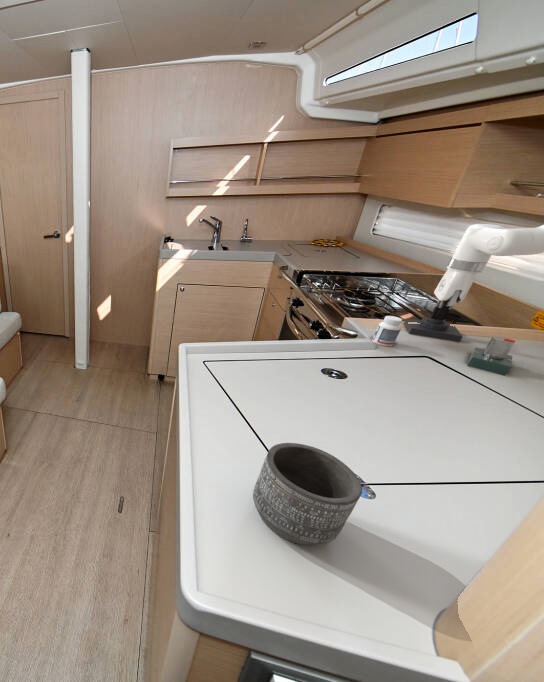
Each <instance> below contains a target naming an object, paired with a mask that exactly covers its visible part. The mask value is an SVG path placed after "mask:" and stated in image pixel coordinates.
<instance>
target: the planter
mask: <svg viewBox="0 0 544 682" xmlns="http://www.w3.org/2000/svg"><path fill="white" fill-rule="evenodd" d="M362 493H363V486H362V483H361V480H360V479H359V478H358V476H357V474H356V473H355V472H354V471H353V470H352V469H351V468H350V467H349V466H348V465H346V463H344V462H343V461H342V460H340V459H338V458H337V457H335V456H334V455H332V454H330V453H328V452H327V451H324V450H322V449H320V448H317V447H314V446H311V445H307V444H303V443H297V442H282V443H278V444H277V443H276V444H274V445H273V446H272V447H270V448H269V450H268V452H267V454H266V457H265V459H264V461H263V463H262V466H261V469H260V471H259V474H258V477H257V480H256V482H255V485H254V487H253V491H252V499H253V503H254V506H255V508H256V511H257V513H258V515H259V517H260V519H261V520H262V522H263V523H264V524H265V525H266V527H267V528H268V529H270V531H271V532H273V533H274V534H275V535H277V536H278V537H280V538H282V539H284V540H285V541H287V542H289V543H293V544H296V545H300V546H317V545H323V544H328V543H331V542H333V541H334V540H336V539H337V538H338V536H339V534H340V533H341V531H342V530H343V528H344V526H345V524H346V522H347V521H348V519H349V517H350V515H352V512H353V510H354V509H355V507H356V505H357V503H358V501H359V499H360V497H362Z"/></svg>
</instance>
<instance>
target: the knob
mask: <svg viewBox="0 0 544 682" xmlns="http://www.w3.org/2000/svg"><path fill="white" fill-rule="evenodd" d="M516 342H517V341H516V339H512V338H509V337H505V336H499V335H494V336H492V337H491V339H490V341H489V342H488V344H487V346H486V347H485V348H484V349H485V350H484V352H483V353H482V354H483V355H484V356H486V357H489V358H492V359H498V360H502V359H504V358H505V356H506V355H508V353H509V352H510V351H511V349H512V348H513V346H514V345H515V343H516Z"/></svg>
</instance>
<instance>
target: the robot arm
mask: <svg viewBox="0 0 544 682" xmlns="http://www.w3.org/2000/svg"><path fill="white" fill-rule="evenodd" d="M543 253H544V224H542V225H540V226H536V227H518V228H517V227H516V228H505V226H502V225H497V224H493V223H492V224H491V223H475V224H471V225H469V226H468V227H467V228H466V230H465V232H464V233H463V236H462V238H461V239H460V241H459V243H458V245H457V246H456V249H455V251H454V253H453V255H452V256H451V258H450V260H449V262H448V263H447V266H446V269H447V270H446V271H445V273H444V274H443V276H442V277H441V279H440V281H439V283H437V286H436V288H435V289H434V291H433V294H434V295H435V297H436V298H437V299H438V300H437V302H436V305H435V306H434V308H433V310H432V311H431V313H430V316H429V318H430V317H431V318H432V319H438V320H445V321H446V318H447V316H448V315H449V313H450V312H451V309H452V308H454V307H455V304H460V303H462V302H463V301H464V300H465V298H466V296H467V294H468V293H469V291H470V289H471V287H472V286H473V283H474V281H475V279H476V277H477V275H478V274H482V272H483V271H484V270H485V268H486V266H487V264H488V263H489V261H490V259H491V257H492V256H494V257H511V256H533V255H539V254H543Z"/></svg>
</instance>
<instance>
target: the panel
mask: <svg viewBox="0 0 544 682" xmlns="http://www.w3.org/2000/svg"><path fill="white" fill-rule="evenodd" d="M473 349H474V350H471V354H470V356H469V359H468V362H467V365H466V366H467V367H469V368H475V369H478V370H482V371H486V372H489V373H493V374H497V375H500V376H506V375H507V373H508V372H509V370H510V369H511V368H512V363H513V362H514V363H516V362H517V361H516V360H513V355H510V354H507V355H506V356H505V358H504V359H502V360H498V359H492V358H489V357H486V356H484V355H483V354H482V353H483V352H484V350H485V348H481V347H477V346H475V347H474V348H473Z"/></svg>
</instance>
